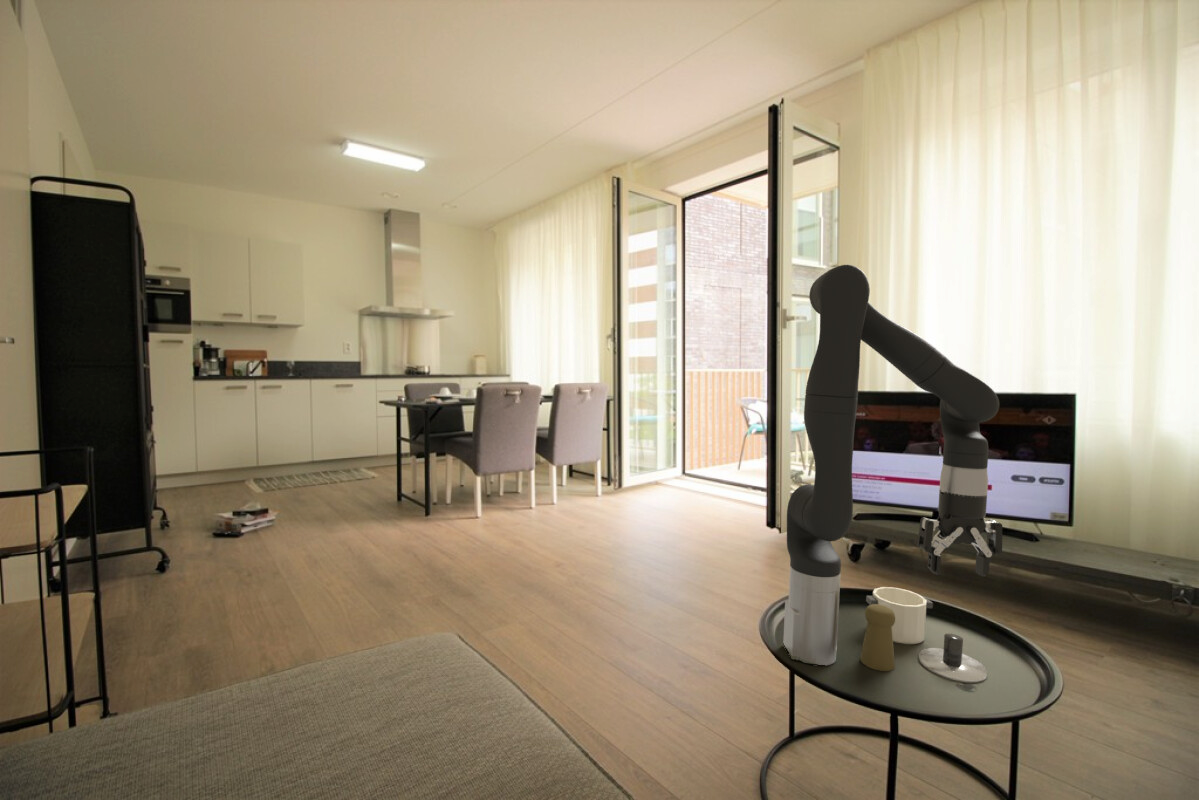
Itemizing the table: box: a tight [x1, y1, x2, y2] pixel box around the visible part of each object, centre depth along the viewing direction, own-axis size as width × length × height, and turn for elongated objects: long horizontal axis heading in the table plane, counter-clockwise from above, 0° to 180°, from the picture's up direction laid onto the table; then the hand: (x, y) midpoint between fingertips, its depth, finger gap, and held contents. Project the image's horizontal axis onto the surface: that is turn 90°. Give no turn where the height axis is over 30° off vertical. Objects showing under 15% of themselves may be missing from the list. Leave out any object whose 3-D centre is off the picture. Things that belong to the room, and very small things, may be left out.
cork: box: [859, 604, 896, 672], centre depth 107 cm, size 6×6×11 cm
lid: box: [918, 633, 988, 684], centre depth 106 cm, size 11×11×6 cm
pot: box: [865, 586, 934, 645], centre depth 119 cm, size 13×10×8 cm
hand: (957, 573), depth 105 cm, fingers open, 8 cm apart
